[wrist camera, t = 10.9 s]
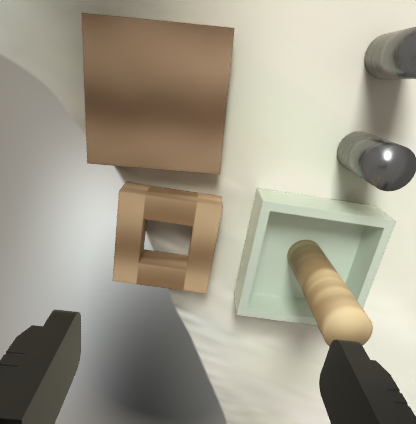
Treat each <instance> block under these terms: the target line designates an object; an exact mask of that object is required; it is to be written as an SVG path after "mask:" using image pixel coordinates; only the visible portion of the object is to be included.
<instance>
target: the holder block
mask: <svg viewBox="0 0 416 424" xmlns="http://www.w3.org/2000/svg"><path fill="white" fill-rule="evenodd" d="M222 208H223V205H222V197H221V196H216V195H209V194H202V193H196V192H189V191H182V190H176V189H169V188H163V187H156V186H149V185H143V184H136V183H129V182H126V183H125V184H124V185H123V187H122V188H121V189H120V191H119V201H118V214H117V227H116V243H115V256H114V269H113V281H117V282H126V283H132V284H140V285H147V286H155V287H162V288H170V289H177V290H185V291H192V292H200V293H207V289H208V283H209V278H210V272H211V267H212V262H213V256H214V251H215V246H216V240H217V235H218V229H219V224H220V219H221V213H222ZM147 220H153V221H160V222H167V223H174V224H181V225H187V226H193V227H192V234H191V240H190V247H189V253H188V256H186V255H179V254H172V253H165V252H158V251H150V250H144V240H145V231H146V222H147Z"/></svg>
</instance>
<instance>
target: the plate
mask: <svg viewBox="0 0 416 424" xmlns="http://www.w3.org/2000/svg"><path fill="white" fill-rule="evenodd" d="M82 35H83V61H84V87H85V114H86V140H87V163H90V164H102V165H114V166H126V167H138V168H150V169H162V170H174V171H186V172H199V173H211V174H220V164H221V154H222V144H223V135H224V125H225V115H226V105H227V95H228V86H229V76H230V66H231V56H232V47H233V37H234V28H229V27H218V26H208V25H198V24H188V23H178V22H168V21H158V20H148V19H138V18H128V17H118V16H108V15H98V14H88V13H82Z"/></svg>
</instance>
